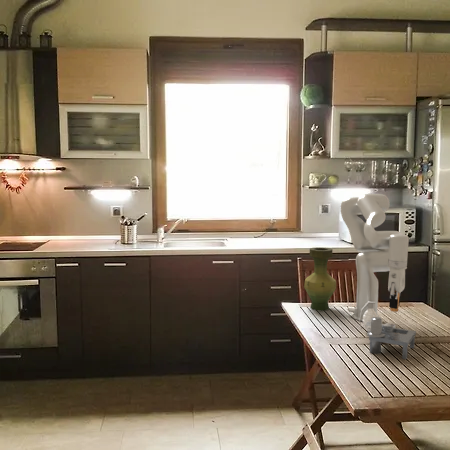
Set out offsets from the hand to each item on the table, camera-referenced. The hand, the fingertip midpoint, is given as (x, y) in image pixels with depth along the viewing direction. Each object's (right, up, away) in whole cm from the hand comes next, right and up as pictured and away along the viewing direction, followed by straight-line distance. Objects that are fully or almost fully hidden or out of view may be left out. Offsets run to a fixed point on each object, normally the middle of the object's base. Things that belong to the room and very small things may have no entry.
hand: (394, 306), depth 208 cm
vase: (-23, -8, +42) cm, 49 cm away
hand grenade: (-9, -12, +6) cm, 16 cm away
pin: (0, -2, 0) cm, 2 cm away
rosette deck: (-8, -14, -15) cm, 22 cm away
